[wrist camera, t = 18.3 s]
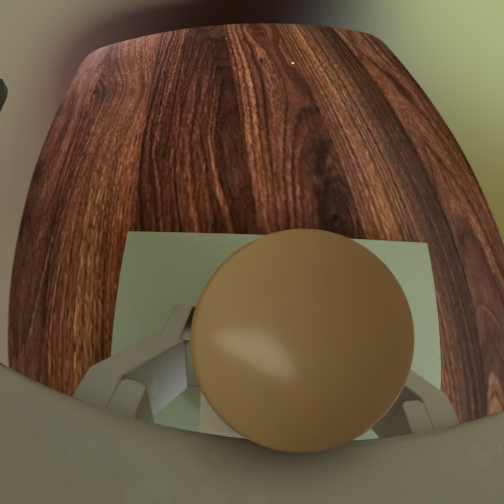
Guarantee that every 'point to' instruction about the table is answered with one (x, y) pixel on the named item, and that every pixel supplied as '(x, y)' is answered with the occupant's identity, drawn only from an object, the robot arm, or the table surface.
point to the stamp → (300, 342)
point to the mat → (200, 271)
